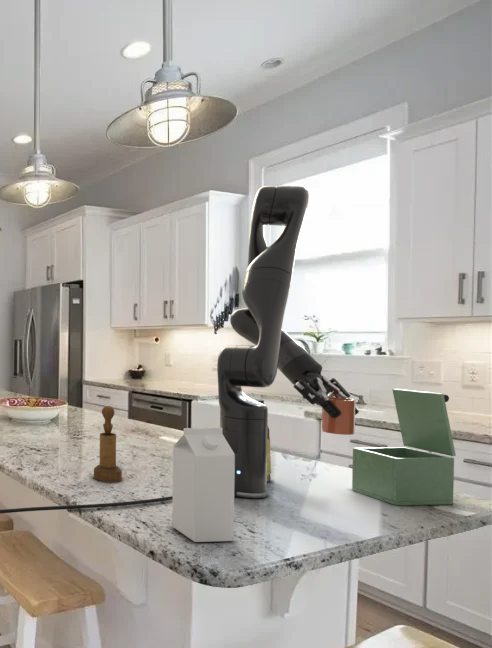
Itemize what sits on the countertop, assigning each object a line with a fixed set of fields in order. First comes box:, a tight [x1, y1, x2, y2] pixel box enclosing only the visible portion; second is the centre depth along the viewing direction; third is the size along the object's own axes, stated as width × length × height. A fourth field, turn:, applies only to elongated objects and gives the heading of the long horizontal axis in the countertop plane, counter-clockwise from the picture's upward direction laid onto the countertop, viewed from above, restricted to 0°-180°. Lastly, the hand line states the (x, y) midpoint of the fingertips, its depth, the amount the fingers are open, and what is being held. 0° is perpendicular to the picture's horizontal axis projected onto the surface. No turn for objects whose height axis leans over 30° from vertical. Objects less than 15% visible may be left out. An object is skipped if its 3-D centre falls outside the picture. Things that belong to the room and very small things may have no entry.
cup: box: [321, 397, 356, 436], centre depth 119 cm, size 6×6×8 cm
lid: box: [392, 388, 457, 457], centre depth 110 cm, size 13×11×5 cm
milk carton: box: [171, 427, 235, 543], centre depth 89 cm, size 7×7×19 cm
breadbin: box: [351, 446, 455, 506], centre depth 110 cm, size 13×11×10 cm
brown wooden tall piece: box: [93, 405, 123, 483], centre depth 125 cm, size 7×6×18 cm
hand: (346, 415), depth 117 cm, fingers closed on cup, 6 cm apart
